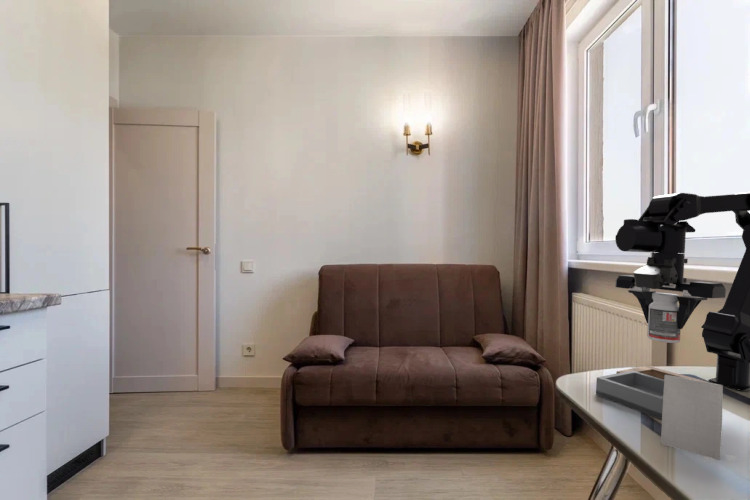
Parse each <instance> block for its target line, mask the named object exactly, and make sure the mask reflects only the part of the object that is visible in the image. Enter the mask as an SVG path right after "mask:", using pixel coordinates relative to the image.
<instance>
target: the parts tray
mask: <svg viewBox="0 0 750 500" xmlns="http://www.w3.org/2000/svg"><path fill="white" fill-rule="evenodd" d="M616 373H617V372H616ZM616 373H613V374H608V375H603V376H602V375H601V376H597V377H596V385H595V387H596V388H595V395H596V396H597V397H600V398H603V399H606V400H608V401H610V402H614V403H617V404H619V405H621V406H623V407H624V406H625V407H627V408H629V409H632V410H635V411H638V412H640V413H643V414H645V415H648V416H651V417H653V418H657V419H659V420H661V421H662V411H663V394H664V380H663V379H660V378H657V377H653V376H650V375H646V374H643V373H639V372H636V371H628V372H623V373H617V374H616Z"/></svg>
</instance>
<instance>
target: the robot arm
mask: <svg viewBox="0 0 750 500" xmlns="http://www.w3.org/2000/svg"><path fill="white" fill-rule="evenodd" d="M749 211H750V191H748V192H747V191H746V192H738V193H734V194H732V193H731V194H721V195H706V196H701V195H698V194H695V193H690V192H677V193H671V194H670V193H669V194H662V195H661V194H660V195H656V196H653V197H652V198H651V200H650V202H649V205H648V207H646V209H645V210H644V212H643V213H642V214H641V216H640V217H639V218H638V219H637V218H636V219H635V218H634V219H633V218H630V219H629V218H628V219H627V218H626V219H624V220H623V224H622V225H621V226H620V228H619V229H618V230H617V233H616V235H615V237H614V238H615V239H614V240H615V244H616V247H617V248H618V250H620V251H622V252H629V253H630V252H631V253H632V252H635V253H651V256H648V257H647V259H646V264H645V265H644V266H641V267H639V268H637V269H636V270H634V271H633V275H631V274H630V275H629V274H628V275H623V274H622V275H621V274H620V275H618V276H617V278H616V279H615V286H614V287H615V288H618V289H620V288H621V289H627V291H628V293H629V294H632V295H634V297H635V298H636V299H637V300H638V303H639V305H640V307H641V311H642V313H643V316H644V319H645V322H646V323H647V324H648V312H649V305H650V304H651V303H653V298H652V293H657V292H656V290H664V291H673V292H681V293H682V295H681V296H680V295H679V296H677V299H678V302H677V303H678V305H679V311H678V320H677V326H678V329H680V330H683V329H684V327H685V325H686V324H687V322H688V321H689V319H690V317H691V316H692V313H693V312H694V310H695V309H696V308H698V306H699V304H700V303H701V302H702V301H708V299H723V298H726V300H725V302H724V305H723V306H722V308H721V309H719V310H718V311H716V312H715V311H708V312H707V314H706V317H705V320H704V323H703V324H702V326H701V327H700V328H701V329H702V332H701V336H702V338H703V342H704V345H705V348H706V349H705V350H706V352H707V353H711V354H715V355H716V369H715V370H716V371H715V377H714V378H709V379H708V381H707V382H709V383H714V384H719V385H723V387H726V388H727V387H728V388H730V389H734V390H739V391H741V392H747V391H750V212H749ZM723 212H725V213H726V212H733V213H734V217H735V222H736V223H735V224H737V225H738V226H739V227H740V228H741V229H742V234H741V239H742V242H743V244H744V247H745V251H744V254H743V257H742V259H741V262H740V264H739V266H738V270H737V272H736V274H735V277H734V279H733V281H732V283H731V287H730V288H729V291H728V294H727V293H726V292H727V289H726V287H725V285H724V284H723V283H722V282H721V283H720V282H712V281H711V282H710V281H690V283H687V278H688V277H685V276H684V275H685V273H684V272H685V264H688V258H685V254H686V253H685V252H686V234H687V233H695V232H696V229H695V227H693V226H691V224H689V222H688V221H687V220H691V219H693V218H697V217H699V216H700V215H704V214H713V213H723ZM651 289H652V290H651ZM726 294H727V297H726Z"/></svg>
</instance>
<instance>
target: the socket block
mask: <svg viewBox="0 0 750 500" xmlns="http://www.w3.org/2000/svg"><path fill="white" fill-rule="evenodd" d="M628 371H636V372H639V373H643V374H646V375H650V376H653V377H657V378H660V379H663V380H664V377H665V375H671V376H676V377H681V378H687V379H692V380H698V381H703V382H708V383H710V382H709V381H705V380H702V379H698V378H695V377H691V376H687V375H685V374H680V373H676V372H673V371H669V370H665V369H662V368H659V367H655V366H651V365H644V366H639V367H634V368H633V367H632V368H628V369H623V370H617V371H616V372H615V374H617V373H623V372H628Z"/></svg>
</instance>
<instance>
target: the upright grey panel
mask: <svg viewBox="0 0 750 500" xmlns="http://www.w3.org/2000/svg"><path fill="white" fill-rule="evenodd" d="M703 381H704V380H702V381H698V380H692V379H687V378H681V377H676V376H671V375H665V377H664V394H663V411H662V420H661V431H660V432H661V433H660V445H664V446H668V447H671V448H675V449H679V450H682V451H686V452H689V453H693V454H696V455H697V454H698V455H700V456H703V457H707V458H710V459H711V458H712V459H715V460H721V447H722V432H723V431H722V430H723V429H722V428H723V397H724V396H723V393H724V392H723V391H724V386H723V385H719V384H715V383H711V382H709V381H706V382H703ZM708 382H709V383H708Z"/></svg>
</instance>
